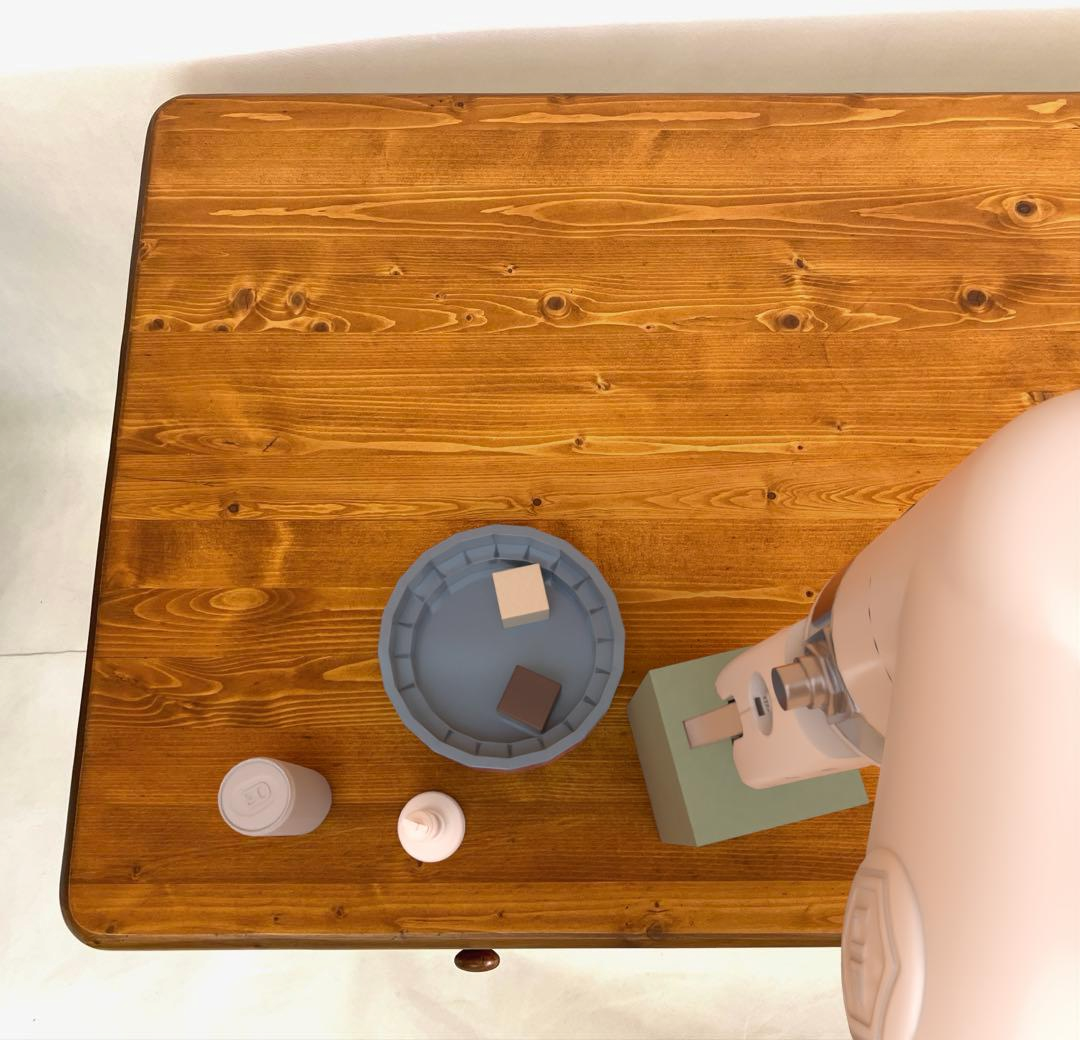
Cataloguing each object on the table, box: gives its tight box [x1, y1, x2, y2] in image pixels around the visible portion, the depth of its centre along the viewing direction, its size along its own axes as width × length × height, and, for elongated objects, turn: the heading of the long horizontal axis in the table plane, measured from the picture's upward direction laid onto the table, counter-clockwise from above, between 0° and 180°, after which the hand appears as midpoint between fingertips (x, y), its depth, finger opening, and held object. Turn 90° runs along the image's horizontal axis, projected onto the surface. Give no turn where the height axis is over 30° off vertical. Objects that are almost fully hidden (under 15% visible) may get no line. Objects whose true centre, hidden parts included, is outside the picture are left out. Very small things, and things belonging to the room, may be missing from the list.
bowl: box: [376, 523, 626, 775], centre depth 73 cm, size 18×18×6 cm
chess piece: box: [397, 790, 466, 863], centre depth 67 cm, size 5×5×10 cm
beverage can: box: [217, 756, 333, 837], centre depth 66 cm, size 5×5×12 cm
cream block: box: [492, 563, 549, 629], centre depth 74 cm, size 4×4×4 cm
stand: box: [625, 644, 870, 848], centre depth 64 cm, size 10×10×18 cm
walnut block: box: [496, 665, 562, 735], centre depth 72 cm, size 4×4×4 cm
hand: (794, 716), depth 47 cm, fingers closed on stirring stick, 2 cm apart
